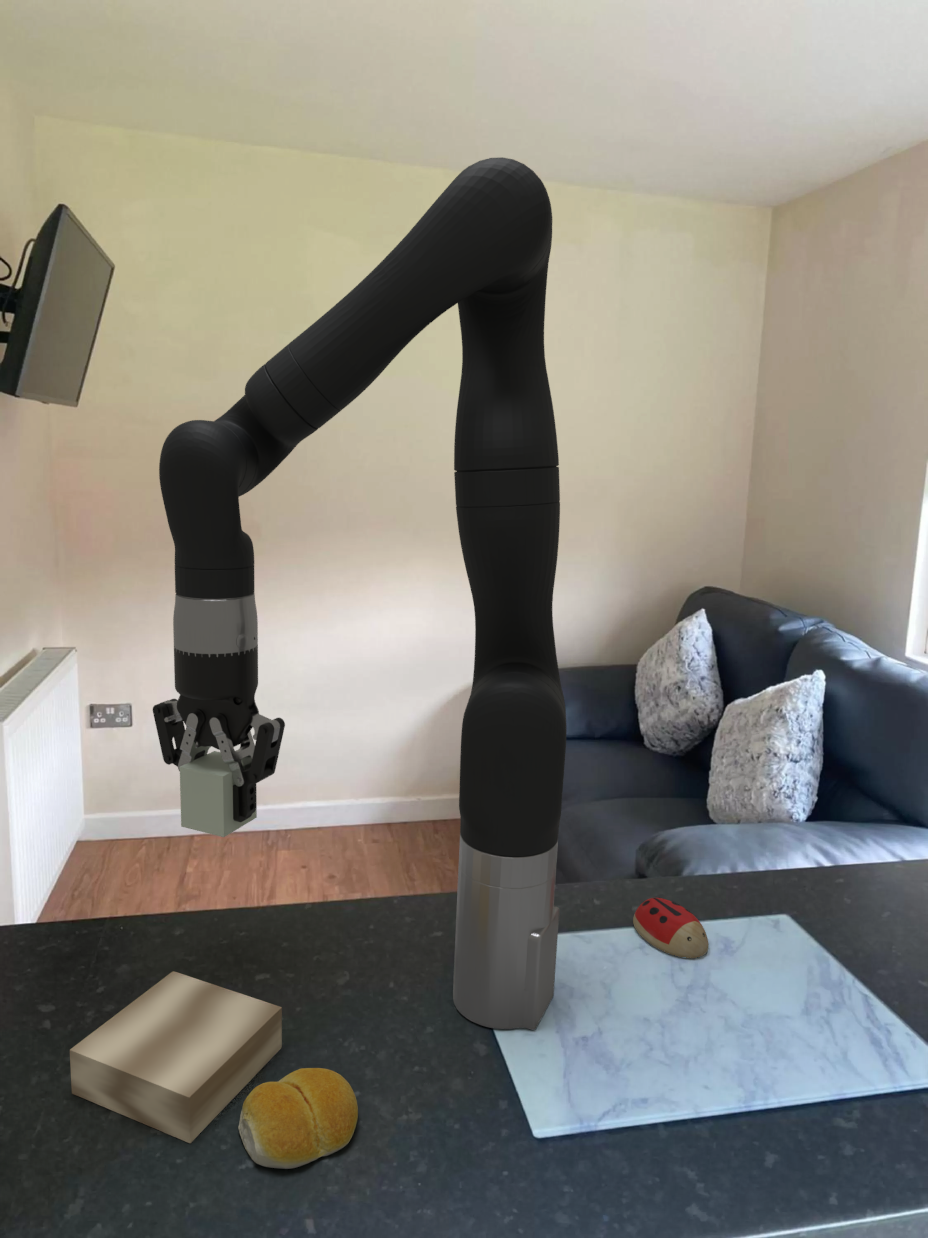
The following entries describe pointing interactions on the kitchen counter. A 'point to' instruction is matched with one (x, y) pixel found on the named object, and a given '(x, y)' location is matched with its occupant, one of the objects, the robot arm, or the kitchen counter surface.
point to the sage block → (209, 796)
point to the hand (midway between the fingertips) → (219, 812)
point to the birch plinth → (177, 1054)
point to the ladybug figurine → (670, 928)
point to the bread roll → (298, 1118)
